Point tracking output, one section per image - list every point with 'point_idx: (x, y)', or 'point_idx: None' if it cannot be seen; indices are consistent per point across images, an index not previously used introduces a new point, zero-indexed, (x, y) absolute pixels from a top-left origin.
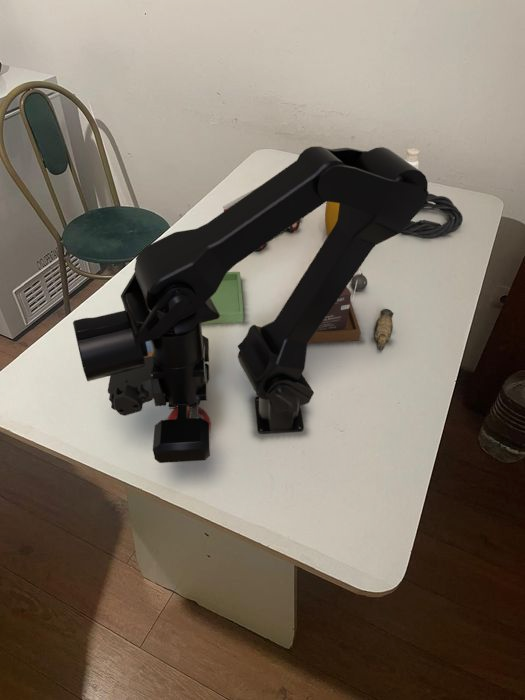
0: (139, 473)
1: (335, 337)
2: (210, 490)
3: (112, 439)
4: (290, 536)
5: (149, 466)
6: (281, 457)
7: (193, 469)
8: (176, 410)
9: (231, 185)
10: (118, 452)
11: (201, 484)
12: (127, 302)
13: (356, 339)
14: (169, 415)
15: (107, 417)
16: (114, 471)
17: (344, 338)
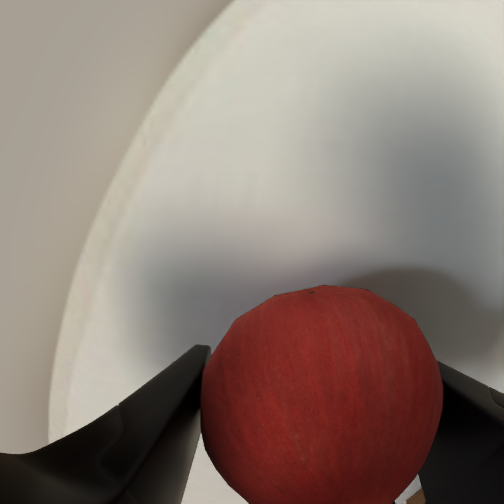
0: (181, 123)
1: (423, 494)
2: (114, 359)
3: (362, 32)
4: (67, 433)
5: (209, 161)
6: (216, 474)
7: (182, 327)
8: (395, 465)
9: None
10: (299, 43)
11: (129, 342)
12: None
13: (407, 501)
14: (406, 373)
15: (444, 43)
16: (208, 35)
17: (416, 497)
